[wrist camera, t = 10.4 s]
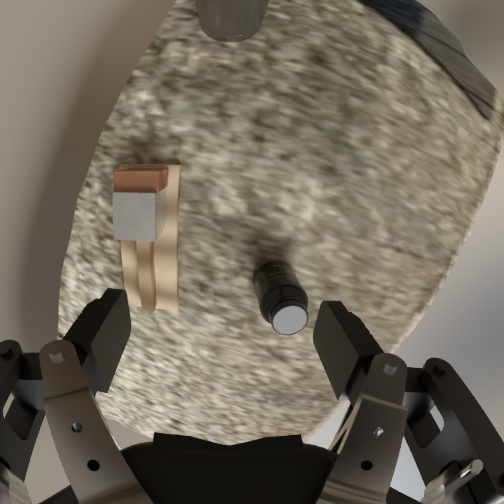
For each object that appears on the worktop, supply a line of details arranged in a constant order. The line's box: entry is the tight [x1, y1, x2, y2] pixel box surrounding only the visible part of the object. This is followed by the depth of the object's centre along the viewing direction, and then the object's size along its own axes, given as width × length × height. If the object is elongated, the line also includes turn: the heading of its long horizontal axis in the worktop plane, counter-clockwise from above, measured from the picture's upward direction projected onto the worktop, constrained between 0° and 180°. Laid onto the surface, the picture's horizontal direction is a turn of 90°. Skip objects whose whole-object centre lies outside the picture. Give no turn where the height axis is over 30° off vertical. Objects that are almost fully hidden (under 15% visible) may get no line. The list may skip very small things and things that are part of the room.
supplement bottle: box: [254, 261, 308, 335], centre depth 39 cm, size 7×7×12 cm
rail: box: [114, 164, 181, 312], centre depth 37 cm, size 23×9×7 cm, turn 174°
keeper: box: [113, 188, 166, 242], centre depth 33 cm, size 6×6×6 cm
